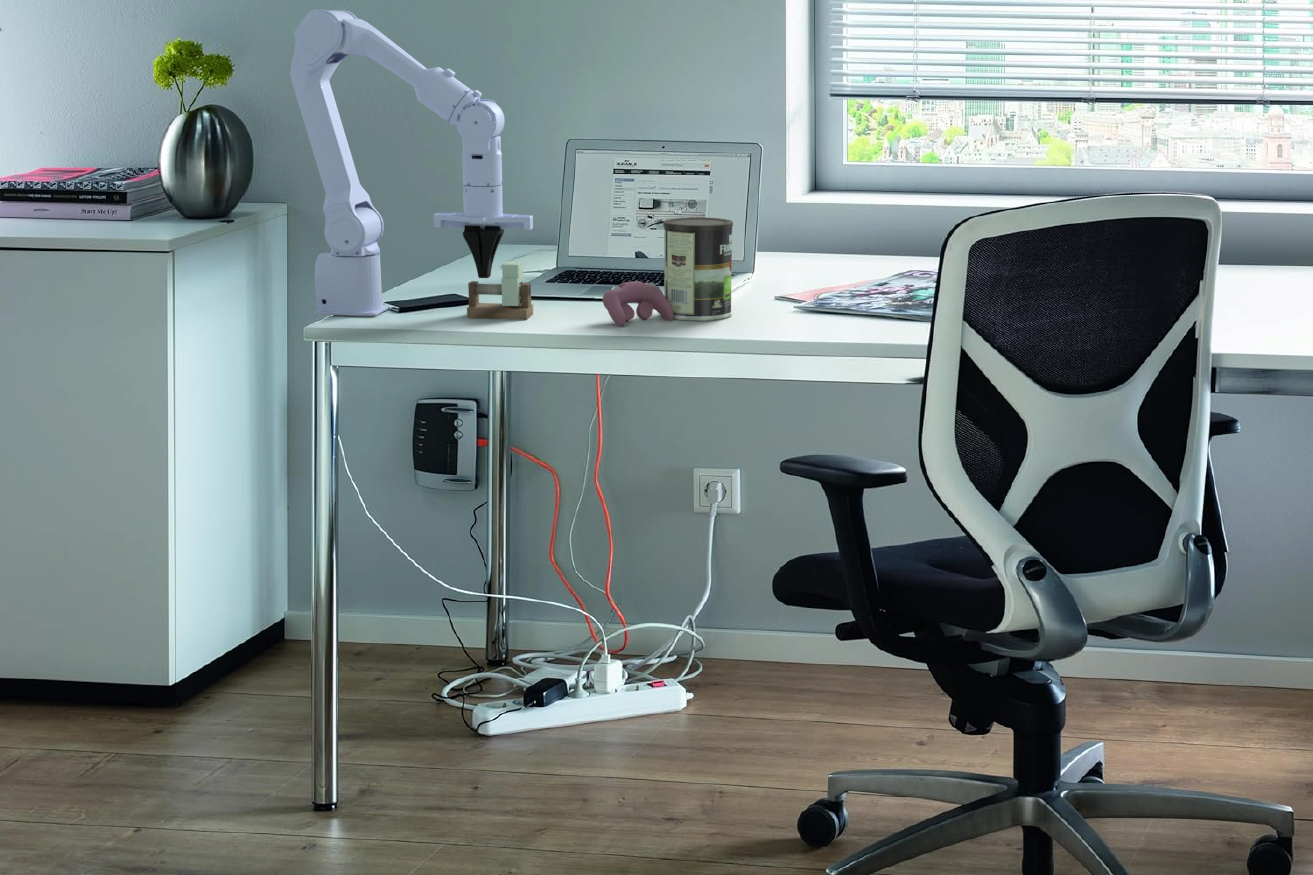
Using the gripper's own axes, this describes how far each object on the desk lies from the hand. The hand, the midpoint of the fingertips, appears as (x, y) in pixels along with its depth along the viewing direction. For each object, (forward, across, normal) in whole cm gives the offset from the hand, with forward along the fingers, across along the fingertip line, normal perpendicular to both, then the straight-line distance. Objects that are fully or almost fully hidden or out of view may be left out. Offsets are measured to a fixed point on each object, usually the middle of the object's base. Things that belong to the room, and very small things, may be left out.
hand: (484, 277), depth 230 cm
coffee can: (+6, +31, +6) cm, 32 cm away
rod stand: (+6, +2, 0) cm, 6 cm away
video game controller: (+6, +23, -1) cm, 24 cm away
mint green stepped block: (+4, +4, 0) cm, 6 cm away
